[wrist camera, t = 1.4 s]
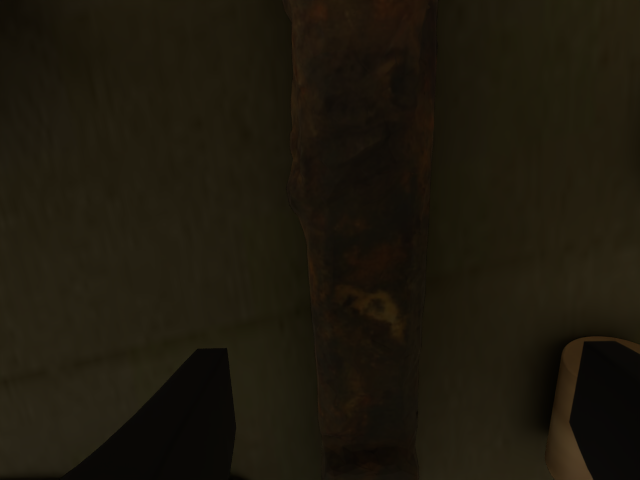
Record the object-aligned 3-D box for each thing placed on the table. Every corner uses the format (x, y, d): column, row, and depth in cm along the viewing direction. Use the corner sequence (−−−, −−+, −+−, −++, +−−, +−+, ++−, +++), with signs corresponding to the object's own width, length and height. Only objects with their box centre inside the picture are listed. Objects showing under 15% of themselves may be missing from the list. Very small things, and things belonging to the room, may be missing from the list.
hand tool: (269, -101, 13) (239, -152, 8) (443, -101, 13) (501, -153, 8) (286, 501, 20) (274, 634, 16) (396, 502, 20) (414, 636, 16)
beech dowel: (569, 422, 19) (527, 469, 18) (587, 324, 18) (543, 364, 16) (663, 469, 17) (628, 528, 16) (693, 363, 16) (657, 414, 14)
